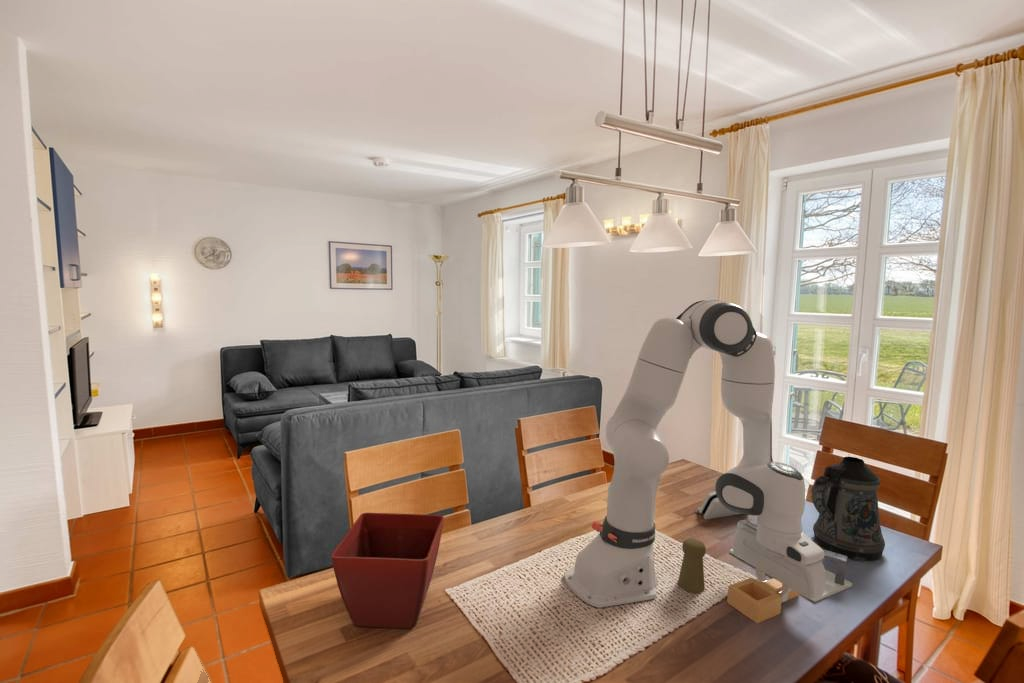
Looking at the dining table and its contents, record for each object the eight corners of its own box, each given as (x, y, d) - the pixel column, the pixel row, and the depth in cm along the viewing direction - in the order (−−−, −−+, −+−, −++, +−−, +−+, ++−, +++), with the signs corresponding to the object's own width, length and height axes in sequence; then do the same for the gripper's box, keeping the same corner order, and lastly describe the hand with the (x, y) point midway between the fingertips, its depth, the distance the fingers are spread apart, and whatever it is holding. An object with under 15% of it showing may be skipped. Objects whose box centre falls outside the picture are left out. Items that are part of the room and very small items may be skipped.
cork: (672, 580, 119) (675, 537, 118) (691, 575, 121) (695, 533, 120) (690, 595, 113) (693, 550, 112) (710, 589, 116) (714, 545, 115)
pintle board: (814, 602, 112) (816, 581, 112) (729, 552, 133) (731, 534, 132) (851, 586, 119) (854, 566, 118) (765, 540, 139) (766, 524, 139)
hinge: (737, 505, 161) (747, 482, 157) (747, 516, 157) (758, 492, 153) (694, 511, 156) (704, 487, 152) (703, 523, 152) (714, 498, 148)
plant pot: (362, 579, 116) (362, 511, 114) (443, 583, 115) (444, 514, 114) (330, 637, 97) (329, 556, 95) (427, 642, 96) (427, 560, 95)
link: (757, 623, 105) (758, 605, 104) (727, 602, 111) (728, 585, 111) (808, 601, 112) (810, 585, 112) (777, 583, 119) (779, 567, 119)
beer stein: (891, 549, 136) (902, 462, 134) (868, 573, 124) (879, 478, 122) (825, 525, 149) (833, 445, 146) (797, 545, 137) (806, 458, 134)
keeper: (811, 578, 122) (813, 551, 121) (812, 572, 124) (815, 546, 123) (843, 588, 118) (846, 561, 117) (844, 583, 120) (847, 556, 119)
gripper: (729, 518, 118) (724, 572, 120) (814, 562, 100) (807, 625, 102) (747, 513, 121) (742, 566, 123) (832, 555, 103) (825, 617, 105)
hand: (772, 593), depth 112 cm, fingers closed on link, 3 cm apart
